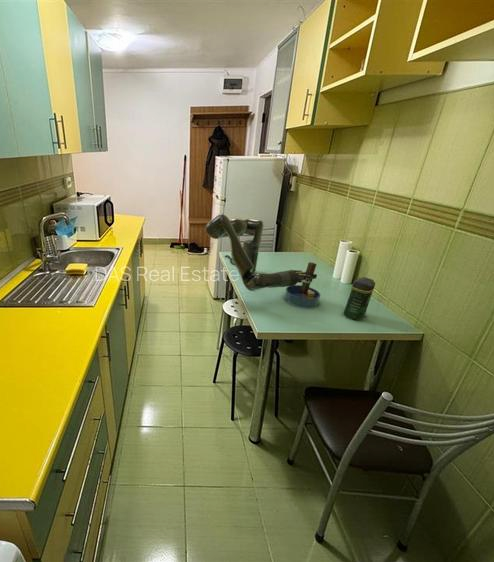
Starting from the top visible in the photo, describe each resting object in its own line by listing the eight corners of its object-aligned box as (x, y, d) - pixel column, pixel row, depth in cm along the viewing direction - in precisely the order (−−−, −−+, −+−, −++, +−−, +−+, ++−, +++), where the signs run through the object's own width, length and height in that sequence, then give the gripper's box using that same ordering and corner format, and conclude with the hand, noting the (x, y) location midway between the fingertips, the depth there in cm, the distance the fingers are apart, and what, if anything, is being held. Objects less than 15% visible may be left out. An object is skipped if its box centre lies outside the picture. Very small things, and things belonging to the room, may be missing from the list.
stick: (299, 291, 154) (308, 262, 148) (303, 291, 155) (312, 262, 149) (303, 294, 152) (312, 264, 146) (307, 293, 153) (316, 264, 147)
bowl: (277, 295, 160) (279, 287, 158) (302, 291, 164) (304, 283, 162) (298, 310, 146) (300, 300, 144) (325, 305, 150) (327, 296, 148)
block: (301, 297, 157) (303, 290, 155) (307, 296, 158) (309, 289, 157) (306, 300, 154) (308, 293, 152) (313, 299, 155) (315, 292, 153)
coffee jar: (359, 322, 136) (371, 285, 129) (341, 315, 141) (351, 279, 134) (367, 315, 142) (378, 279, 135) (348, 309, 147) (359, 274, 140)
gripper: (296, 277, 138) (326, 273, 143) (277, 266, 150) (305, 263, 155) (293, 291, 141) (322, 287, 146) (274, 280, 153) (302, 276, 159)
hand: (313, 274), depth 151 cm, fingers closed on stick, 2 cm apart
